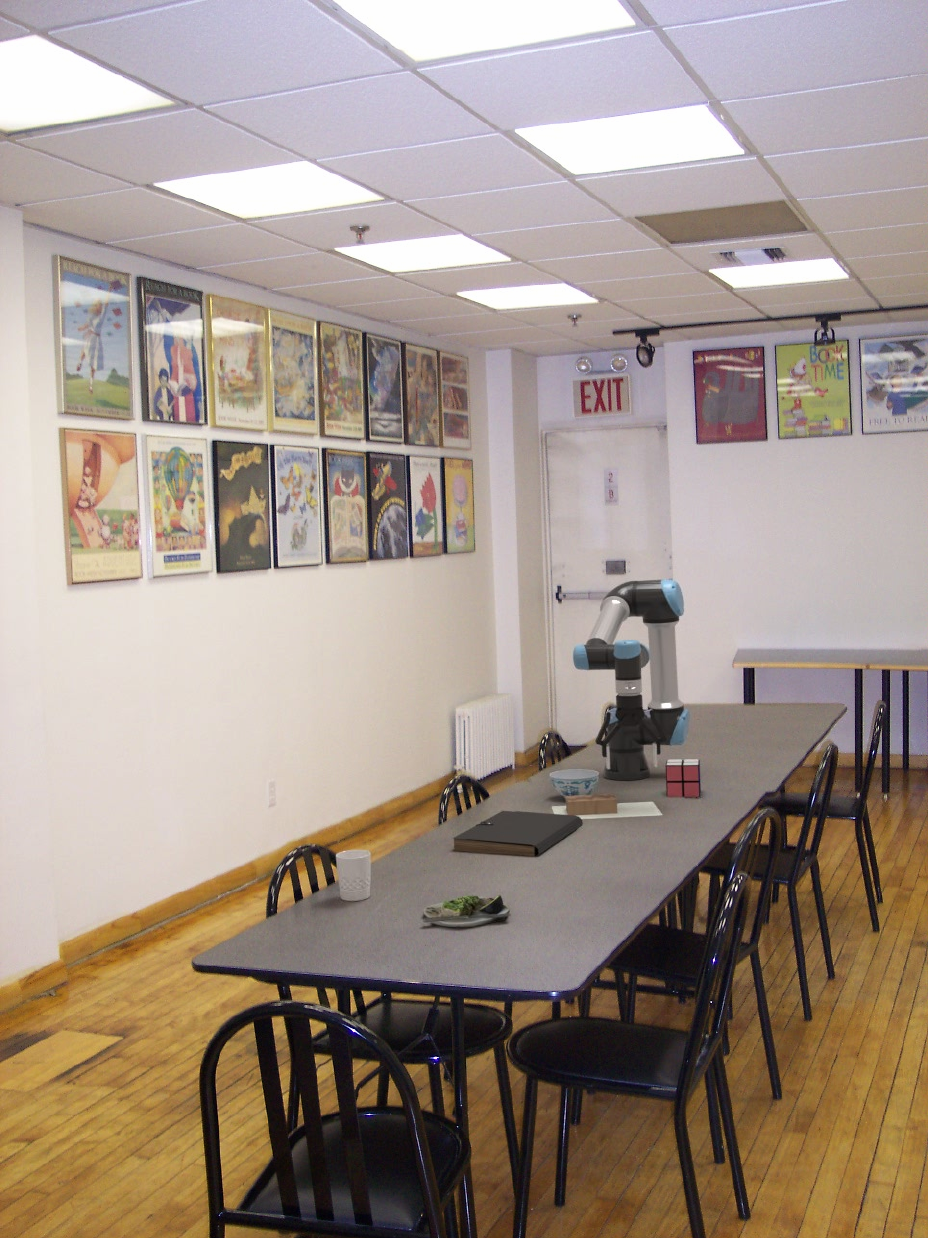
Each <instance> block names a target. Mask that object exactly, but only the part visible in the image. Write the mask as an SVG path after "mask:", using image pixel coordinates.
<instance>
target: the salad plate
mask: <svg viewBox="0 0 928 1238" xmlns="http://www.w3.org/2000/svg"><path fill="white" fill-rule="evenodd" d="M510 912H511V911H510V908H509V907H508V906H506V905H504V900H503V898H502V895H500V894H497V895H495V896H494V897H486V896H478V895H473V894H472V895H463V896H462V897H461V896H459V897H456V898H455V899H450V900H446V901H444V902H439V903H434V904H429V905H427V906H425V908H424V910H423V911H422V914H423V915H424V916H425V917H424V918H422V922H423V923H429V924H434V925H436V926H439V927H449V928H472V927H477V926H482V925H488V924H492V923H497V922H501V921H503V920H505V919H506V918H507V917H510V916H511V915H512V914H511V913H510ZM440 914H441V915H440ZM439 915H440V916H439Z"/></svg>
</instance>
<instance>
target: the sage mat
mask: <svg viewBox="0 0 928 1238" xmlns="http://www.w3.org/2000/svg"><path fill="white" fill-rule="evenodd" d="M551 810H552V812H553V813H552V814H562V815H568V813H567V810H566V805H557V806H556V805H552V806H551ZM575 816H578V817H580V818H581V819H582V820H591V819H594V820H597V819H614V818H615V819H616V818H632V817H633V818H634V817H636V818H637V817H639V818H640V817H654V816H656V817H657V816H663V813H662V812H661V811H660V809H659V808H658V806H657V805H656V804H655V802H654V801H639V802H638V801H637V802H619V803H618V802H617V813H613V814H592V815H575Z"/></svg>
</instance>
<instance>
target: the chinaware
mask: <svg viewBox="0 0 928 1238" xmlns="http://www.w3.org/2000/svg"><path fill="white" fill-rule="evenodd" d="M599 776H600V773H599V771H597V770H593V769H585V768H584V769H583V768H574V769H573V768H571V769H562V770H556V771H553V772H550V773H549V778H550V781H551V784H552V787H553V788H554V790H555V791H556V792H557V793H558V794H560V796H562V797H563V799H565V800H566V796H576V795H591V793H592V792H593V791H594V790H595V788H596V786H597V784H598V781H599Z"/></svg>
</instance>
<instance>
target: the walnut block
mask: <svg viewBox="0 0 928 1238" xmlns="http://www.w3.org/2000/svg"><path fill="white" fill-rule="evenodd" d="M617 803H618V799H617V797H616V796H615V793H602V794H601V793H600V794H598V793H597V794H588V795H576V796H566V799H565V806H566V810H567V813H568V815H592V814H613V813H617Z"/></svg>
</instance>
